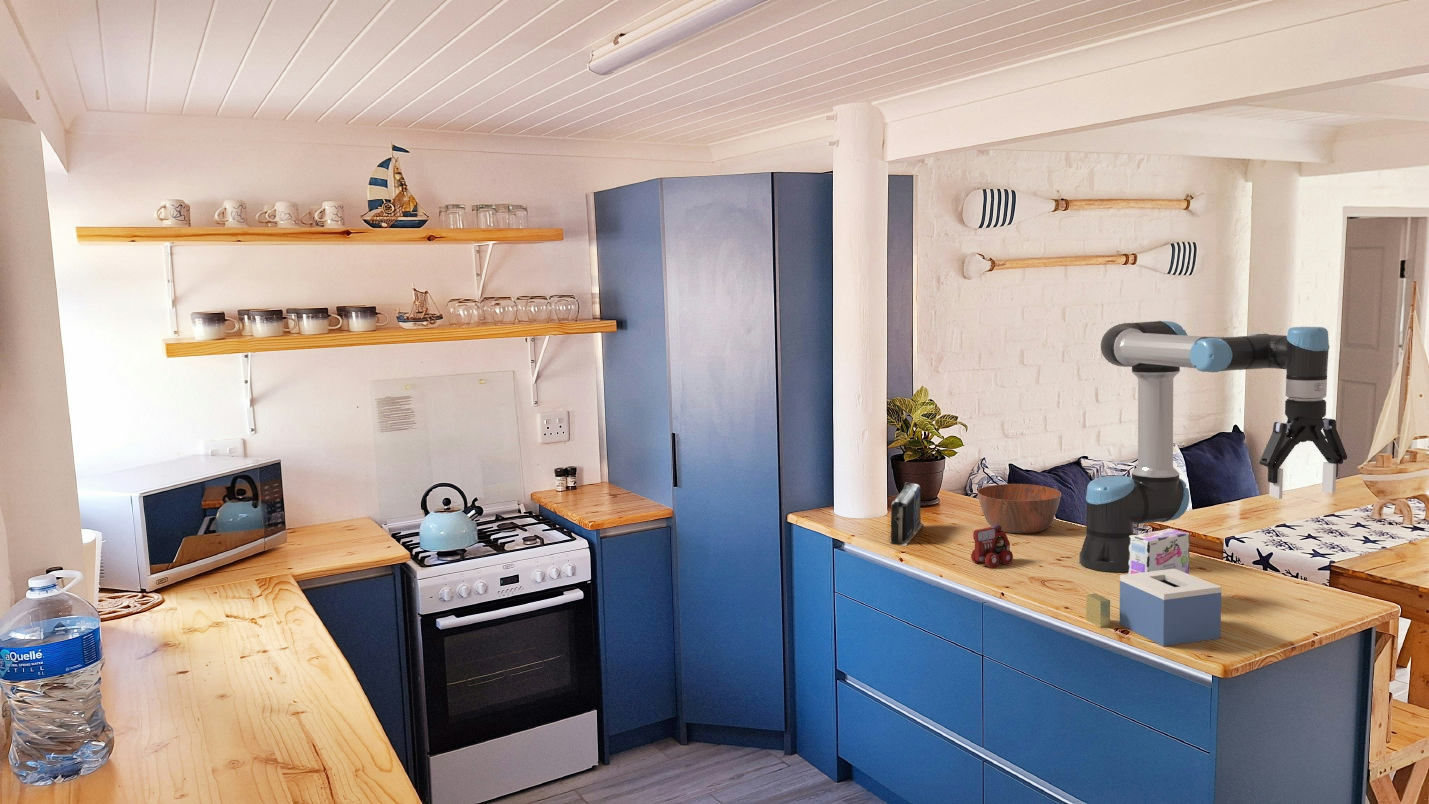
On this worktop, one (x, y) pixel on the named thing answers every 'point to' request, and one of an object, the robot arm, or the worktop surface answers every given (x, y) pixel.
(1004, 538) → the toy fire truck
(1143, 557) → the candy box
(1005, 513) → the bowl
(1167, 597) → the coin box
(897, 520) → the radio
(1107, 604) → the wooden toy block
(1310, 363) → the robot arm
